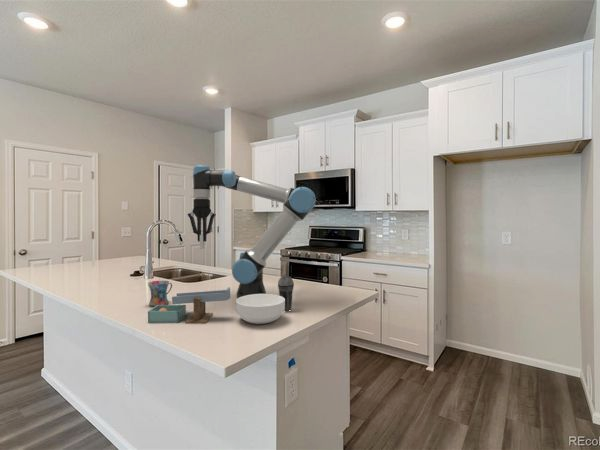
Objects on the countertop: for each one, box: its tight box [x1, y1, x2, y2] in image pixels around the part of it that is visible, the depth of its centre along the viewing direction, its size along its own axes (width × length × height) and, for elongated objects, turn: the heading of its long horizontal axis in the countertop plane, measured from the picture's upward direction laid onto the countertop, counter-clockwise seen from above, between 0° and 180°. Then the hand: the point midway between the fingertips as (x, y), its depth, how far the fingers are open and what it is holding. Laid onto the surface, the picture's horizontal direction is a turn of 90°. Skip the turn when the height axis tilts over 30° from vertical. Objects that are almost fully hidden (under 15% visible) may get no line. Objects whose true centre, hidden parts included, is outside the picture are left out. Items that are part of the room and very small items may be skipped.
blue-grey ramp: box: [171, 286, 231, 305], centre depth 137 cm, size 22×13×4 cm, turn 92°
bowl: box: [235, 293, 285, 325], centre depth 133 cm, size 20×20×8 cm
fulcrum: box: [185, 298, 214, 324], centre depth 134 cm, size 8×11×10 cm
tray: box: [147, 304, 187, 324], centre depth 134 cm, size 12×9×4 cm
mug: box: [147, 280, 173, 307], centre depth 155 cm, size 12×9×11 cm
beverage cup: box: [277, 265, 295, 312], centre depth 146 cm, size 7×7×20 cm
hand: (202, 248), depth 156 cm, fingers closed
